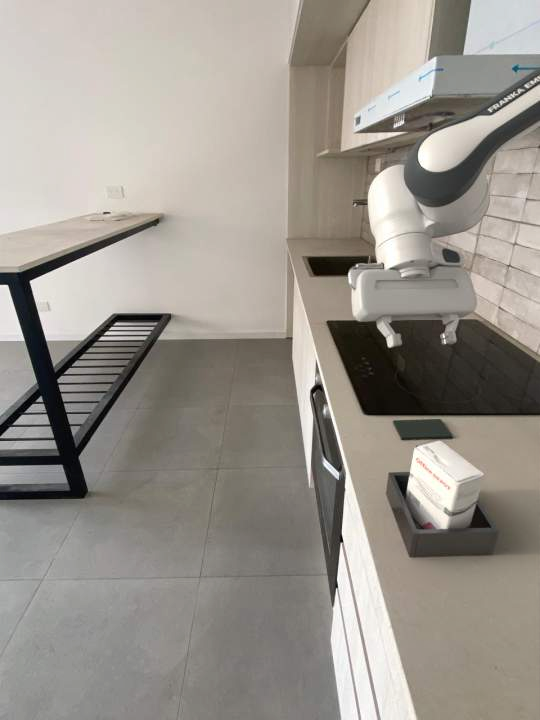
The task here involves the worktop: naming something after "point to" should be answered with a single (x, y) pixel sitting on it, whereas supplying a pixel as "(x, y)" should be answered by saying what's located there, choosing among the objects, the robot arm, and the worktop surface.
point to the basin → (439, 540)
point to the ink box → (442, 487)
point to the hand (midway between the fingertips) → (422, 345)
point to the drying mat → (422, 429)
